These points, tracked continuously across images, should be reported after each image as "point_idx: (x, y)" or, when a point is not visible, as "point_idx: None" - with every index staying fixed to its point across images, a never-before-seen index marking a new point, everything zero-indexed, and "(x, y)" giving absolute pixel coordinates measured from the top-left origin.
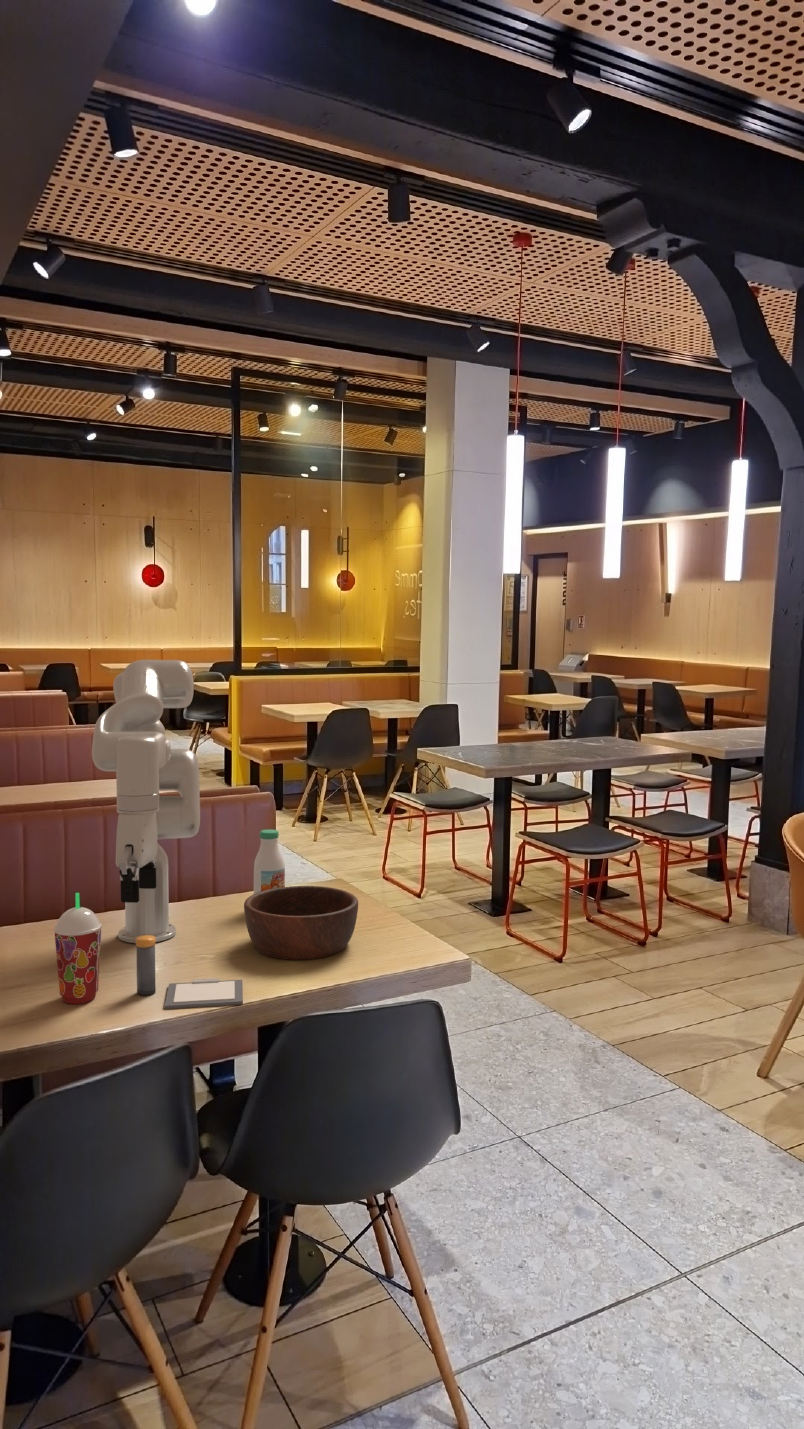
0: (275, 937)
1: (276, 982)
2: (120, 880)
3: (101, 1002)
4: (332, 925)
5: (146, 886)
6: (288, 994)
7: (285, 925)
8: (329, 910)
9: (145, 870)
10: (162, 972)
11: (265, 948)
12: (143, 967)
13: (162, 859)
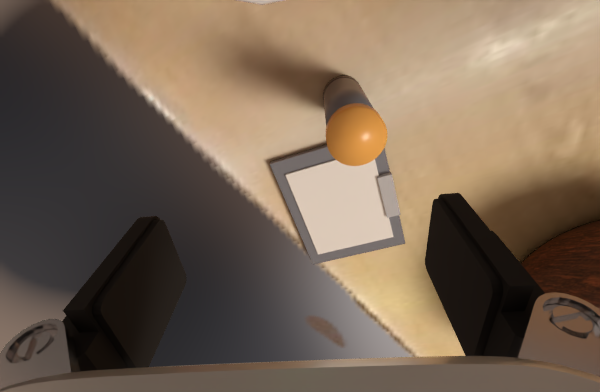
0: None
1: (405, 280)
2: (28, 327)
3: (274, 15)
4: None
5: (432, 236)
6: (358, 300)
7: None
8: None
9: (476, 311)
10: (469, 80)
11: (537, 258)
12: (325, 117)
13: None
